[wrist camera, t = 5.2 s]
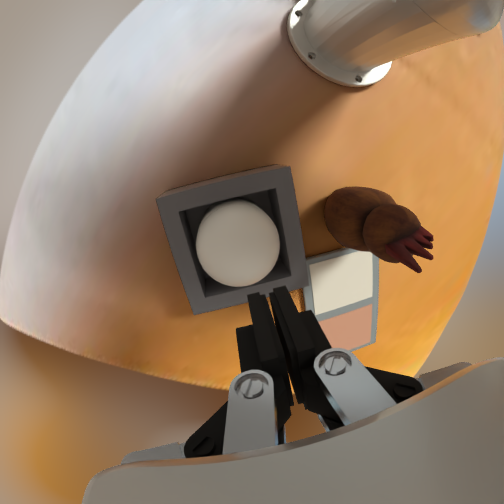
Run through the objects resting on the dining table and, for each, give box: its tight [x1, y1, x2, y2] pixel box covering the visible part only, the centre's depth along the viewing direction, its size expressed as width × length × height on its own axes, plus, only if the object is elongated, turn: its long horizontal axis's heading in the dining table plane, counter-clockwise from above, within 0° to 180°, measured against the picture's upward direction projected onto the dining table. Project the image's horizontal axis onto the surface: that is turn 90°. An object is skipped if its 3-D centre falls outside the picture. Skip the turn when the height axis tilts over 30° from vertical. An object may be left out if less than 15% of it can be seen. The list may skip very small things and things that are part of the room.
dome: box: [196, 197, 280, 287], centre depth 23 cm, size 7×7×7 cm
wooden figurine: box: [324, 187, 433, 273], centre depth 21 cm, size 7×6×15 cm
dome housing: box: [156, 164, 309, 315], centre depth 25 cm, size 11×11×5 cm
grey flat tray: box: [302, 247, 379, 352], centre depth 32 cm, size 16×10×1 cm, turn 12°
